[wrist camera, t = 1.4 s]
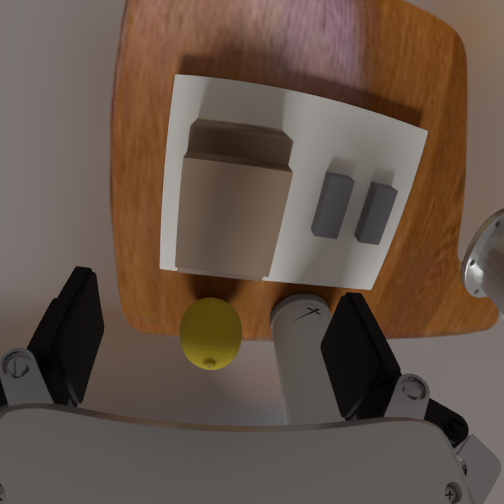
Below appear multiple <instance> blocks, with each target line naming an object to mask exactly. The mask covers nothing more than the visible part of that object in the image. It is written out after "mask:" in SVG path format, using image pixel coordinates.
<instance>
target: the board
mask: <svg viewBox="0 0 504 504" xmlns="http://www.w3.org/2000/svg"><path fill="white" fill-rule="evenodd" d="M198 117H199V118H208V119H216V120H224V121H232V122H239V123H246V124H252V125H258V126H265V127H270V128H276V129H282V130H283V131H284V132H285V133H286V134H287V135H288V136H289V137H290V138H291V139H292V140H293V146H292V151H291V155H290V160H289V164H288V165H289V167H290V168H291V170H292V172H293V176H292V181H291V185H290V190H289V194H288V198H287V202H286V207H285V211H284V215H283V220H282V224H281V228H280V232H279V236H278V241H277V245H276V249H275V253H274V257H273V261H272V265H271V269H270V274H269V277H263V279H262V280H266V281H277V282H287V283H298V284H309V285H320V286H331V287H343V288H355V289H368V290H371V289H372V287H373V284H374V282H375V280H376V278H377V275H378V273H379V271H380V268H381V266H382V264H383V261H384V259H385V256H386V254H387V252H388V249H389V247H390V244H391V242H392V239H393V237H394V234H395V231H396V229H397V226H398V223H399V221H400V218H401V215H402V213H403V210H404V207H405V204H406V201H407V198H408V196H409V193H410V190H411V187H412V184H413V181H414V178H415V174H416V171H417V168H418V165H419V162H420V158H421V155H422V152H423V148H424V145H425V141H426V138H427V134H428V131H426V130H423V129H421V128H418V127H416V126H413V125H410V124H408V123H405V122H402V121H399V120H396V119H394V118H391V117H388V116H385V115H382V114H379V113H376V112H372V111H369V110H366V109H363V108H359V107H356V106H353V105H349V104H346V103H342V102H338V101H335V100H331V99H327V98H323V97H319V96H315V95H311V94H306V93H302V92H297V91H293V90H288V89H283V88H278V87H273V86H267V85H261V84H255V83H249V82H243V81H236V80H229V79H221V78H212V77H203V76H192V75H180V74H175V80H174V87H173V95H172V102H171V110H170V118H169V127H168V137H167V147H166V157H165V169H164V182H163V197H162V216H161V241H160V269H166V270H174V271H177V267H175V255H176V237H177V222H178V209H179V197H180V185H181V175H182V165H183V157H184V155H185V154H186V152H187V147H188V139H189V131H190V126H191V125H192V123H193V122H194V121H195V120H196V119H197V118H198ZM326 171H327V172H332V173H336V174H341V175H346V176H350V177H351V178H352V179H353V180H354V181H355V183H354V187H353V190H352V193H351V197H350V200H349V203H348V206H347V210H346V213H345V216H344V219H343V223H342V226H341V229H340V232H339V235H338V238H337V239H332V238H325V237H317V236H314V235H313V233H312V231H311V226H312V222H313V219H314V215H315V212H316V208H317V204H318V201H319V197H320V193H321V189H322V186H323V182H324V178H325V174H326ZM371 181H372V182H377V183H381V184H385V185H389V186H392V187H393V188H394V189H396V190H397V191H398V193H397V196H396V199H395V202H394V205H393V208H392V211H391V213H390V216H389V219H388V222H387V225H386V227H385V230H384V233H383V235H382V238H381V241H380V243H379V245H373V244H367V243H360V242H358V241H357V239H356V238H355V236H354V234H355V231H356V228H357V225H358V222H359V219H360V216H361V213H362V210H363V207H364V204H365V201H366V197H367V194H368V191H369V188H370V184H371Z"/></svg>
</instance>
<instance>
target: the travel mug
mask: <svg viewBox="0 0 504 504" xmlns="http://www.w3.org/2000/svg"><path fill="white" fill-rule="evenodd" d="M331 319H332V316H331V313H330V310H329V307H328V305H327V303H326V302H325V301H324V300H323V299H322V298H321V297H319V296H316V295H314V294H309V293H301V294H295V295H292V296H289V297H287V298H285V299H283V300H282V301H280V302H279V303H278V304H277V305H276V306H275V308H274V309H273V311H272V313H271V316H270V323H271V330H272V336H273V342H274V349H275V355H276V361H277V368H278V374H279V380H280V387H281V393H282V399H283V406H284V413H285V419H286V425H303V424H318V423H330V422H341V421H345V418H342V417H341V415H340V412H339V409H338V405H337V402H336V399H335V395H334V392H333V389H332V385H331V382H330V379H329V376H328V372H327V369H326V366H325V363H324V360H323V356H322V353H321V350H320V345H321V341H322V339H323V337H324V335H325V333H326V330H327V328H328V326H329V323H330V321H331Z"/></svg>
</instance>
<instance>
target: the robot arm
mask: <svg viewBox="0 0 504 504" xmlns="http://www.w3.org/2000/svg"><path fill="white" fill-rule="evenodd" d="M461 275H462V282H463V285H464V287H465V288H466V290H467V291H468V292H469V293H470V294H471V295H472V296H475V297H480V298H481V297H487V296H488V297H489V298H490V299H491V301H492V302H493V303H494V304H495V305H496V307H497V308H498V316H499V317H500V318H504V209H502V210H500V211H497V212H496V213H495V214H493V215H492V216H490V217H489V218H488V219H487V220H486V221H485V222H484V224H483V225H482V226H481V227H480V228H479V230H478V231H477V233H476V234H475V236H474V237H473V239H472V241H471V243H470V245H469V247H468V249H467V251H466V254H465V257H464V261H463V265H462V273H461ZM103 333H104V322H103V316H102V310H101V304H100V298H99V291H98V284H97V276H96V274H95V272H92V270H91V268H87V267H78V266H77V267H75V269H74V271H73V272H72V274H71V276H70V277H69V279H68V280H67V282H66V284H65V286H64V287H63V289H62V291H61V292H60V294H59V296H58V298H55V299H53V300H52V302H51V303H50V305H49V307H48V309H47V310H46V312H45V315H44V316H43V318H42V320H41V322H40V323H39V325H38V327H37V329H36V331H35V333H34V335H33V337H32V339H31V341H30V343H29V345H28V347H27V349H24V348H13V349H10V350H9V351H7V352H6V353H4V355H2V357H1V359H0V504H483V503H484V501H485V499H486V498H487V496H488V494H489V493H490V491H491V489H492V487H493V485H494V484H495V481H496V480H497V478H498V476H499V474H500V471H501V464H500V461H499V460H498V458H497V457H496V456H495V455H494V454H493V453H492V452H491V451H490V450H489V449H488V448H487V447H486V446H485V445H484V444H482V442H481V441H480V440H479V439H477V438H476V437H475V436H474V435H473V434H471V435H468V430H469V429H468V425H467V423H466V421H465V420H464V419H463V417H461V416H460V415H459V414H457V413H455V412H453V411H451V410H450V409H448V408H446V407H445V406H443V405H441V404H439V403H438V402H436V401H434V400H432V399H431V398H429V397H430V390H429V387H428V385H427V383H426V382H425V381H424V380H423V379H422V378H420V377H419V376H417V375H414V374H404V375H402V374H401V372H400V370H401V369H400V367H399V365H398V363H397V361H396V358H395V357H394V354H393V352H392V350H391V349H390V347H389V345H388V343H387V341H386V339H385V337H384V335H383V333H382V331H381V329H380V327H379V325H378V323H377V321H376V319H375V318H374V316H373V314H372V312H371V310H370V308H369V306H368V305H367V303H366V301H365V299H364V297H363V295H362V294H361V293H351V292H347V293H346V294H345V295H344V296H341V298H340V300H339V302H338V305H337V307H336V310H335V312H334V314H333V317H332V319H331V321H330V323H329V326H328V328H327V330H326V333H325V335H324V337H323V339H322V341H321V345H320V350H321V353H322V356H323V360H324V363H325V366H326V369H327V372H328V376H329V379H330V382H331V385H332V389H333V392H334V395H335V399H336V402H337V405H338V409H339V412H340V415H341V417H342V418H345V421H341V422H330V423H318V424H303V425H278V426H231V425H206V424H192V423H179V422H168V421H159V420H150V419H143V418H136V417H129V416H122V415H116V414H110V413H104V412H98V411H93V410H88V409H83V408H77V405H78V403H82V401H83V398H84V395H85V391H86V388H87V384H88V381H89V377H90V374H91V370H92V367H93V364H94V361H95V358H96V355H97V351H98V348H99V345H100V342H101V339H102V336H103Z"/></svg>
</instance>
